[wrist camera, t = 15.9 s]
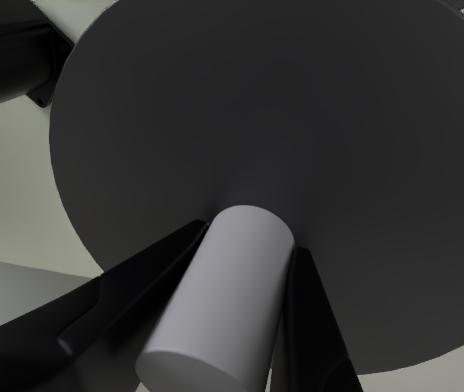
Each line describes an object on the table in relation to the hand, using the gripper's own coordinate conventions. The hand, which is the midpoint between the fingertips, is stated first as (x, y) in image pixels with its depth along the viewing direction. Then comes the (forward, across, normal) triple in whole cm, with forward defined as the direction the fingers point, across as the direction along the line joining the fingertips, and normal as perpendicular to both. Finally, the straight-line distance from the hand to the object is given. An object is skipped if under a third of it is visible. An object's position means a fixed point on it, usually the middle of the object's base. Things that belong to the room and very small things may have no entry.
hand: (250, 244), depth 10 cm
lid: (+1, 0, 0) cm, 1 cm away
